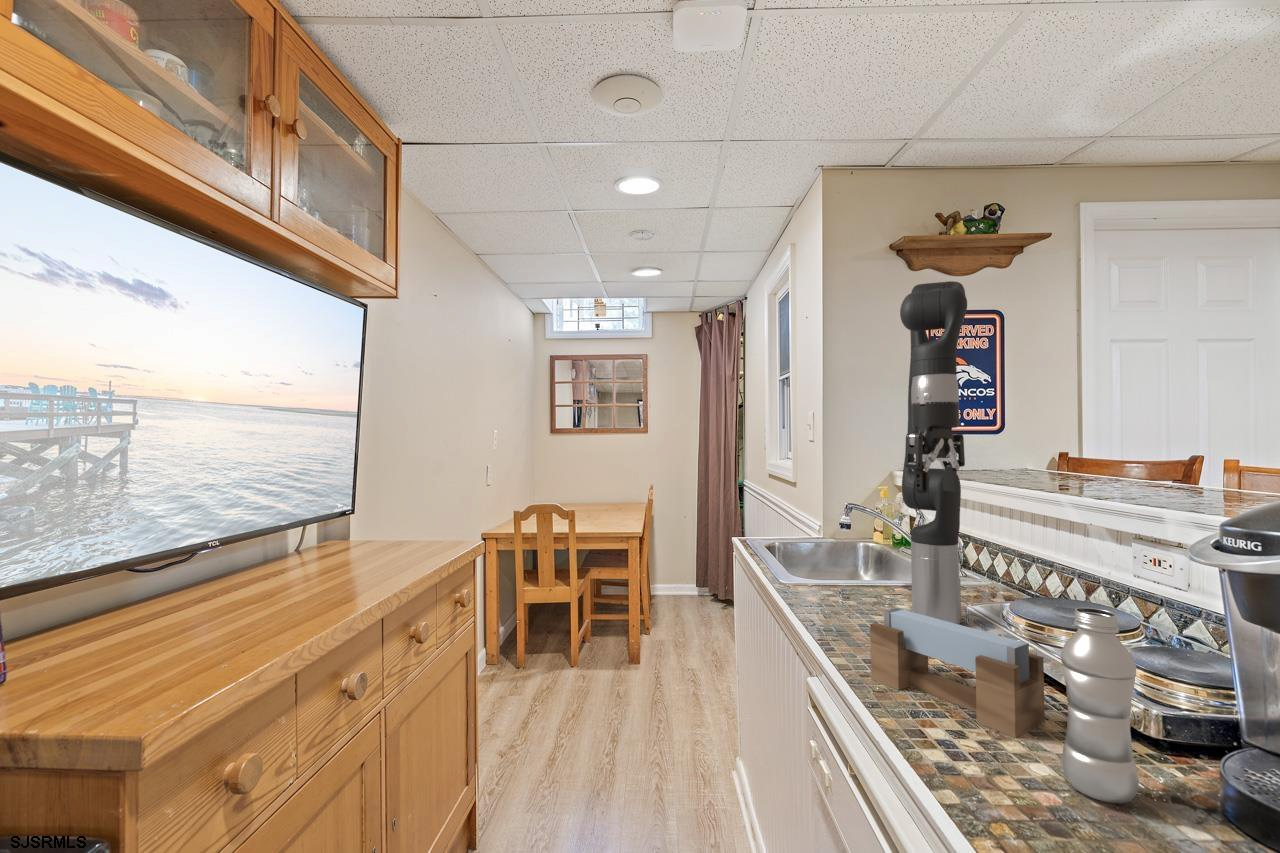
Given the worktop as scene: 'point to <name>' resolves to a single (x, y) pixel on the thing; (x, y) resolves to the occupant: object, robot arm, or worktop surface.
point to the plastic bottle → (1099, 709)
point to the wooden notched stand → (996, 684)
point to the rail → (956, 641)
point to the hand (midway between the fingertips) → (936, 492)
